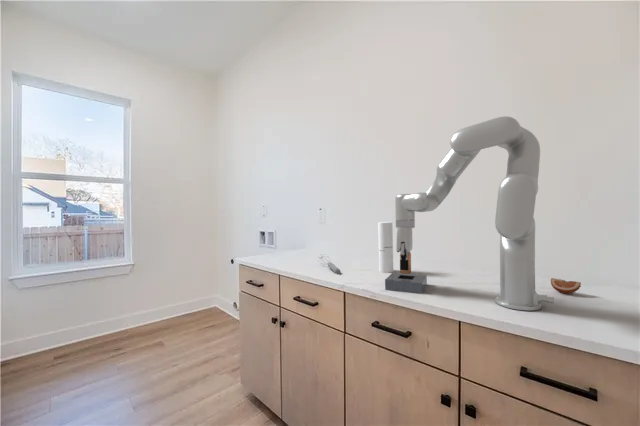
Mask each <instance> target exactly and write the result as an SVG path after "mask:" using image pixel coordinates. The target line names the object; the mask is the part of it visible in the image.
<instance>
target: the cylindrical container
mask: <svg viewBox="0 0 640 426" xmlns="http://www.w3.org/2000/svg"><path fill="white" fill-rule="evenodd" d="M377 230H378V231H377V234H378V235H377V236H378V237H377V238H378V239H377V240H378V272H380V273H383V274H384V273H385V274H388V273H389V274H391V273H393V272H394V243H393V242H394V239H393V235H394V233H393V232H394V231H393V230H394V229H393V221H379V222H377Z"/></svg>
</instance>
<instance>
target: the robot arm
mask: <svg viewBox="0 0 640 426" xmlns="http://www.w3.org/2000/svg"><path fill="white" fill-rule="evenodd" d="M449 144H450V149H449V150H448V152H447V153H446V154H445V156H444V157H443V158H442V159H441V161H440V162H439V164H438V165H437V166H436V177H435V179H434V181H433V182H432V184H431V186H430V187H429V188H428V189H427V191H426V192H417V193H399V194H396V195H395V197H394V198H395V200H394V202H395V228H396V229H397V230H396V247H395V248H396V249H395V250H396V251H395V252H396V253H399V271H400V270H408V269H409V267H408V253H411V251H413V229H415V226H416V223H415V222H416V218H415V215H416V214H415V213H417V212H418V213H424V212H432V211H434V210H436V209H437V208H438V207H439V206H440V205H441V203H443V201H444V200H445V199H446V198H447V196H448V195H449V193H450V192H451V191H452V189H453V188H454V186H455V185H456V182H457V180H458V179H459V177H460V176H461V175H462V174H463V173H464V171H465V170H466V169H467V168H468V167H469V165H470V164H471V163H472V162H473V160H474V159H475V158H476V157H477V155H479V153H480V152H481V150H485V149H487V148H491V147H499V148H501V149H503V150H504V149H505V151H507V153H508V158H507V165H506V176H505V177H504V178H503V179H502V180H501V182H500V184H499V186H498V190H497V201H496V208H495V217H494V219H495V220H494V225H495V229H496V232H497V233H498V234H499V236H500V237H499V285H500V289H499V290H500V292H499V293H500V294H499V295H497V296H496V297H495V298H494V301H495V303H496V304H497V305H500V306H501V307H505V308H508V309H512V310H517V311H527V312H529V311H531V312H533V311H538V310H541V309H542V303H547V304H555V297H554V296H548V295H546V294H539V293H538V292H537V291H536V221H535V218H534V217H535V216H534V215H535V209H536V198H537V194H538V192H539V184H538V183H539V182H538V181H539V171H540V161H541V159H540V158H541V147H540V142H539V140H538V138H537V137H536V136H535V134H534V133H533V132H532V131H530V130H529V129H527V128H524V127H523V126H521V124H520V122H519V121H518V120H517V119H516V118H515V117H512V116H499V117H494V118H492V119H488V120H486V121H482V122H479V123H476V124H472V125H469V126H465V127H463V128H461V129H459V130H457V131H455V132H454V133H453V135H452V136H451V138H450V143H449ZM405 254H406V255H405Z"/></svg>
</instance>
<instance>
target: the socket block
mask: <svg viewBox="0 0 640 426" xmlns="http://www.w3.org/2000/svg"><path fill="white" fill-rule="evenodd" d="M427 280H428V279H427V274H421V273H410V274H402V273H400V272H396V271H395V272H394V271H393V272H391V273H390V275H389V276H387V277H386V278H385V279H384V287H385V288H384V290H385V291H395V292H403V293H404V292H405V293H412V294H413V293H415V294H423V292H424V291H425V288H426V287H427V284H428V281H427Z"/></svg>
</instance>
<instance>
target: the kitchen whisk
mask: <svg viewBox="0 0 640 426" xmlns="http://www.w3.org/2000/svg"><path fill="white" fill-rule="evenodd" d="M325 257H327V259H328V260H327V259H326V258H325ZM317 258H318V260H317V261H318V263H320V264H321V265H323V266H326V265H328V266H327V267H328V268H329V269H330V270H331V271H333V272H334V273H335V274H336V273H337V274H336V275H341V269H340V268H339V267H337V266H336V265H335V264H333V262H332V261H331V259H330V257H329V256H328V255H326V256H325V255H324V254H323V255H322V254H320V256H317ZM325 259H326V261H324V260H325ZM320 260H321V261H320ZM322 261H323V262H322Z"/></svg>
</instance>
